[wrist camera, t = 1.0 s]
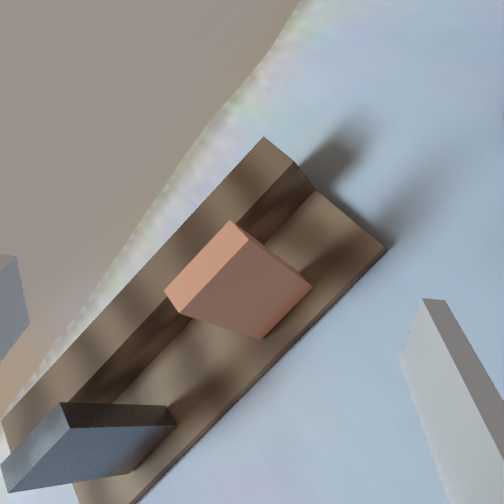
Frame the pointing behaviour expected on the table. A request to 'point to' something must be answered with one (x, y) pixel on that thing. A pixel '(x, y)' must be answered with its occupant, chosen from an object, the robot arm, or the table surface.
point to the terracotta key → (237, 284)
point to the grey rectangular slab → (86, 444)
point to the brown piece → (196, 331)
